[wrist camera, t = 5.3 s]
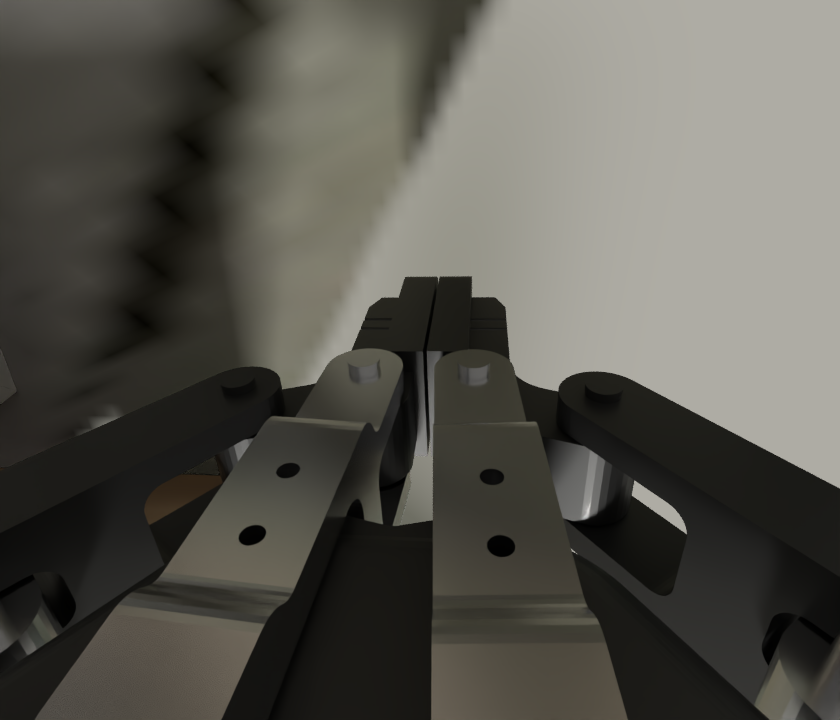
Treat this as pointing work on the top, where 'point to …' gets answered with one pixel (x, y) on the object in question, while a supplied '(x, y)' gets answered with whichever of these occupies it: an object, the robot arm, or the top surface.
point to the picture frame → (5, 380)
